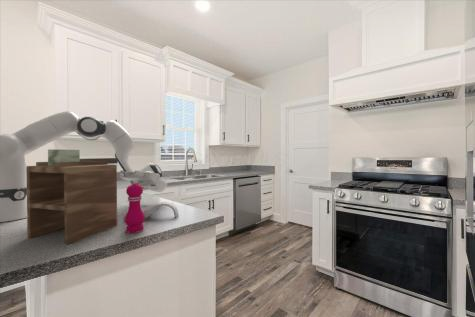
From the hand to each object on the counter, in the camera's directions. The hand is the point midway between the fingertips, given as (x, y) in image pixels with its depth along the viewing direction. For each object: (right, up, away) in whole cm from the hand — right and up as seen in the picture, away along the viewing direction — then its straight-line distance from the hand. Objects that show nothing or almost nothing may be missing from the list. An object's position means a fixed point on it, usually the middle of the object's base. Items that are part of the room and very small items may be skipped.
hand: (128, 172), depth 109 cm
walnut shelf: (-8, -22, -24) cm, 34 cm away
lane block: (-6, +4, -19) cm, 21 cm away
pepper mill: (+14, -22, -23) cm, 35 cm away
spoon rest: (+14, -22, -5) cm, 27 cm away
